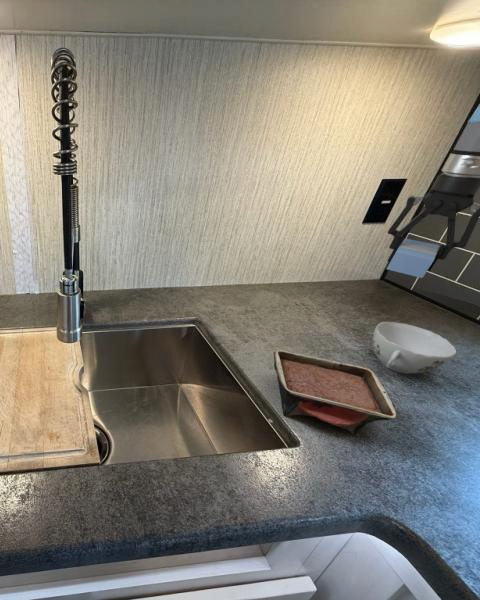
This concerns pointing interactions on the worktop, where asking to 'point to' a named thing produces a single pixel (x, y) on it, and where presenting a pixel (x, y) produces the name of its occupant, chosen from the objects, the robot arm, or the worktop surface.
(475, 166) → the robot arm
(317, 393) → the baking dish
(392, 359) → the teacup
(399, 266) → the tea packet
